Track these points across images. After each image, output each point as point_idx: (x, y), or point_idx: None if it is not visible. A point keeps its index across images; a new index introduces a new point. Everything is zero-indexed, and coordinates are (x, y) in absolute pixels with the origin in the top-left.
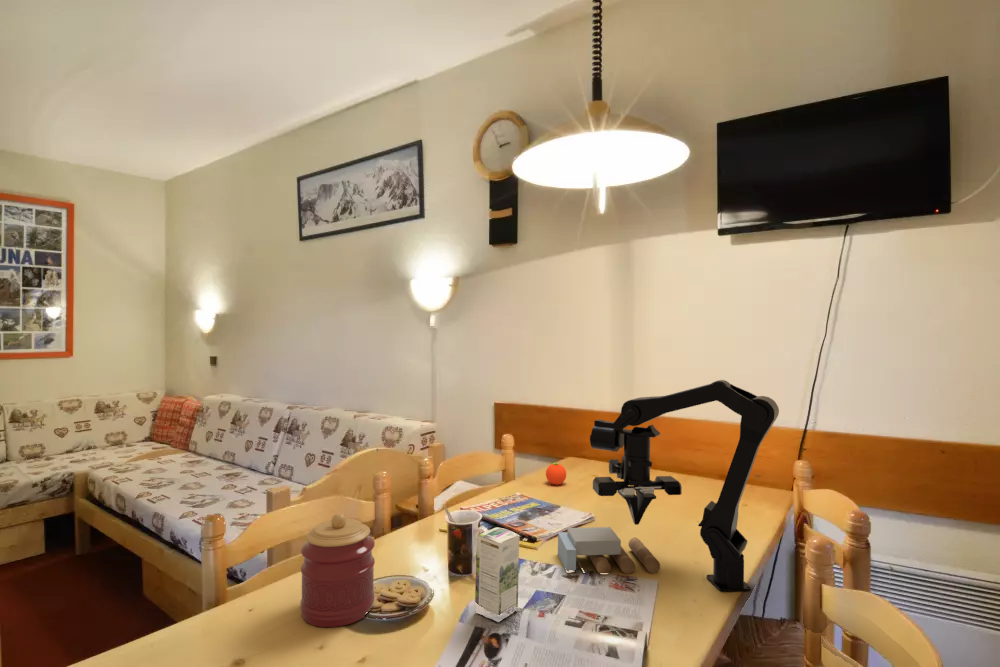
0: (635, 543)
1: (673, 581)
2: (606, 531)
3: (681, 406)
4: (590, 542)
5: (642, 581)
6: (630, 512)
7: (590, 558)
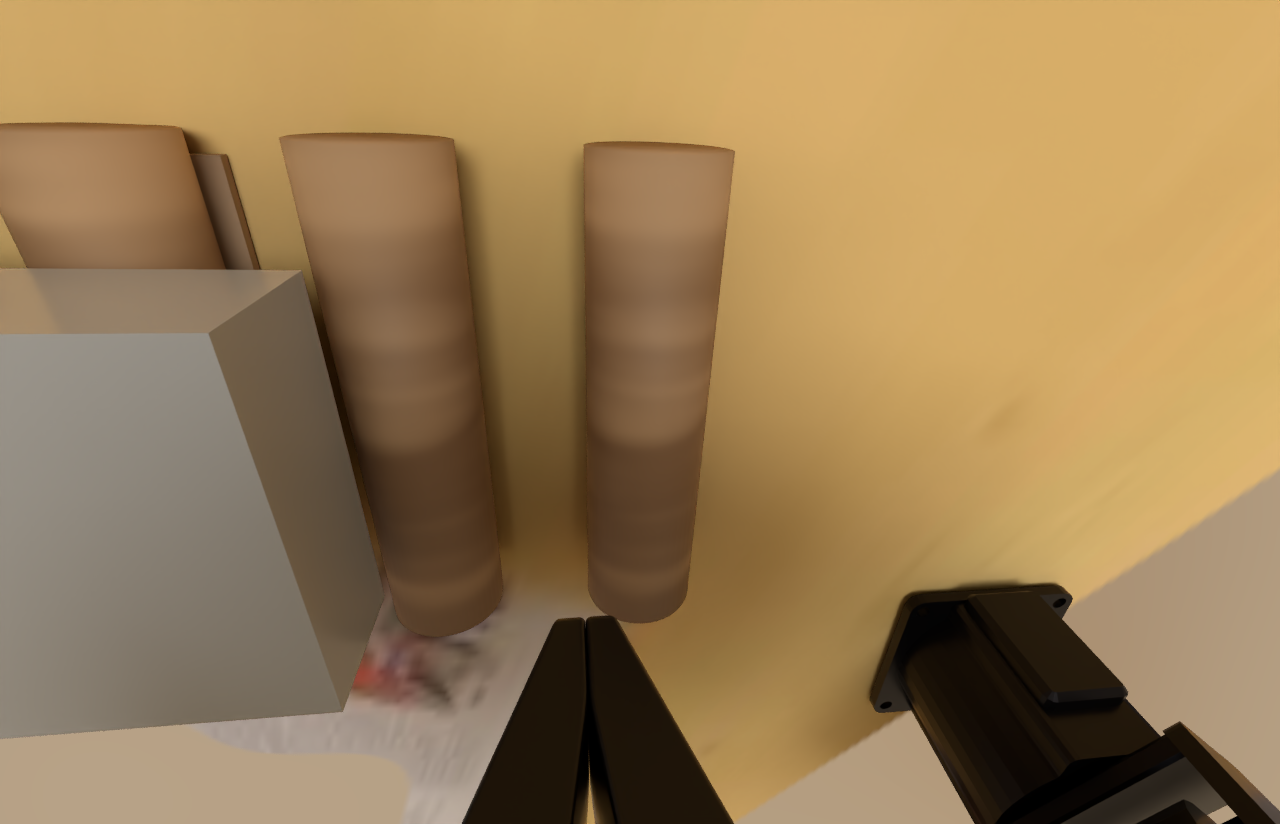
0: (621, 305)
1: (706, 625)
2: (149, 499)
3: None
4: None
5: (527, 629)
6: (480, 796)
7: None
